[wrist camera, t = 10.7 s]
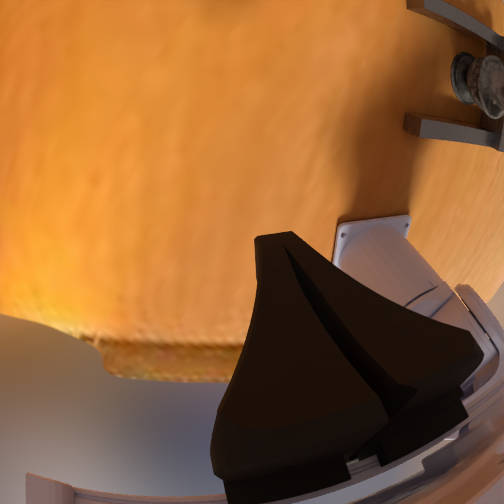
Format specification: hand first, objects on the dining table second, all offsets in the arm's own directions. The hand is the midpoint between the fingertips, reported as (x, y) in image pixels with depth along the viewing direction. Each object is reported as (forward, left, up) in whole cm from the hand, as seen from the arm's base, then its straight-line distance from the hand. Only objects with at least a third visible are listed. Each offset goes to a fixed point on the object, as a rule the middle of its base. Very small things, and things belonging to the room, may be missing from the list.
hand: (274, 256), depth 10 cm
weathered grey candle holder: (+8, -21, -11) cm, 25 cm away
